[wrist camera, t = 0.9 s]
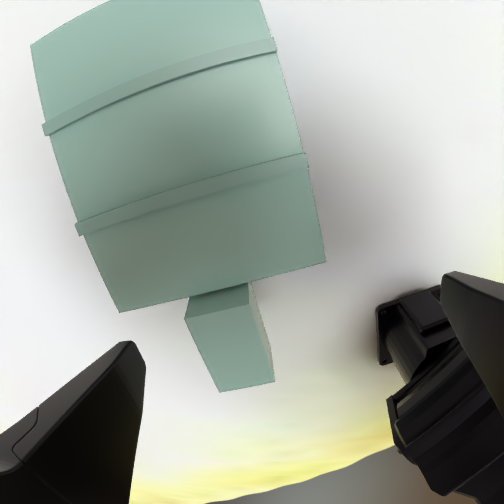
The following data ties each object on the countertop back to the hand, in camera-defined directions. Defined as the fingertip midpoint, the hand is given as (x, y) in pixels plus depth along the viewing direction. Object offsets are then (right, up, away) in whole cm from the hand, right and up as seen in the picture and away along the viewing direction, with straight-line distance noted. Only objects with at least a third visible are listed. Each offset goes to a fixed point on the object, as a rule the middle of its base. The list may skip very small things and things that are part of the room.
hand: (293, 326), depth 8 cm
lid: (-4, +5, +6) cm, 9 cm away
